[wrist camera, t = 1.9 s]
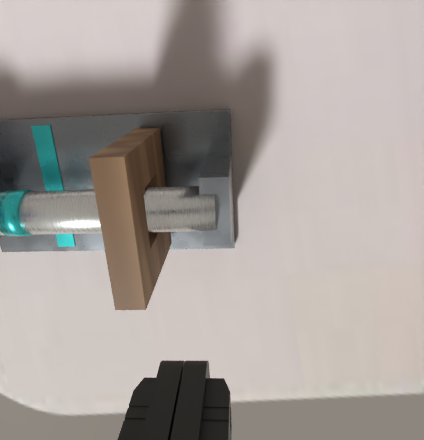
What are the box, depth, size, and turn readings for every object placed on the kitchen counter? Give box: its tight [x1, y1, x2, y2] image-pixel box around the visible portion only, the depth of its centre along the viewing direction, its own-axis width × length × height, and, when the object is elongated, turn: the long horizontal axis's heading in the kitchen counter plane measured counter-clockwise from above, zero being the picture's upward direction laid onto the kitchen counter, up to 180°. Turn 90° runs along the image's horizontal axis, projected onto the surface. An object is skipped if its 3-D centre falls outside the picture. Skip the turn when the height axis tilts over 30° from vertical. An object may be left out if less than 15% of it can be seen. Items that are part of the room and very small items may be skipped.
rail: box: [0, 109, 235, 252], centre depth 30 cm, size 22×12×8 cm, turn 93°
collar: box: [89, 128, 172, 310], centre depth 28 cm, size 2×10×10 cm, turn 3°
